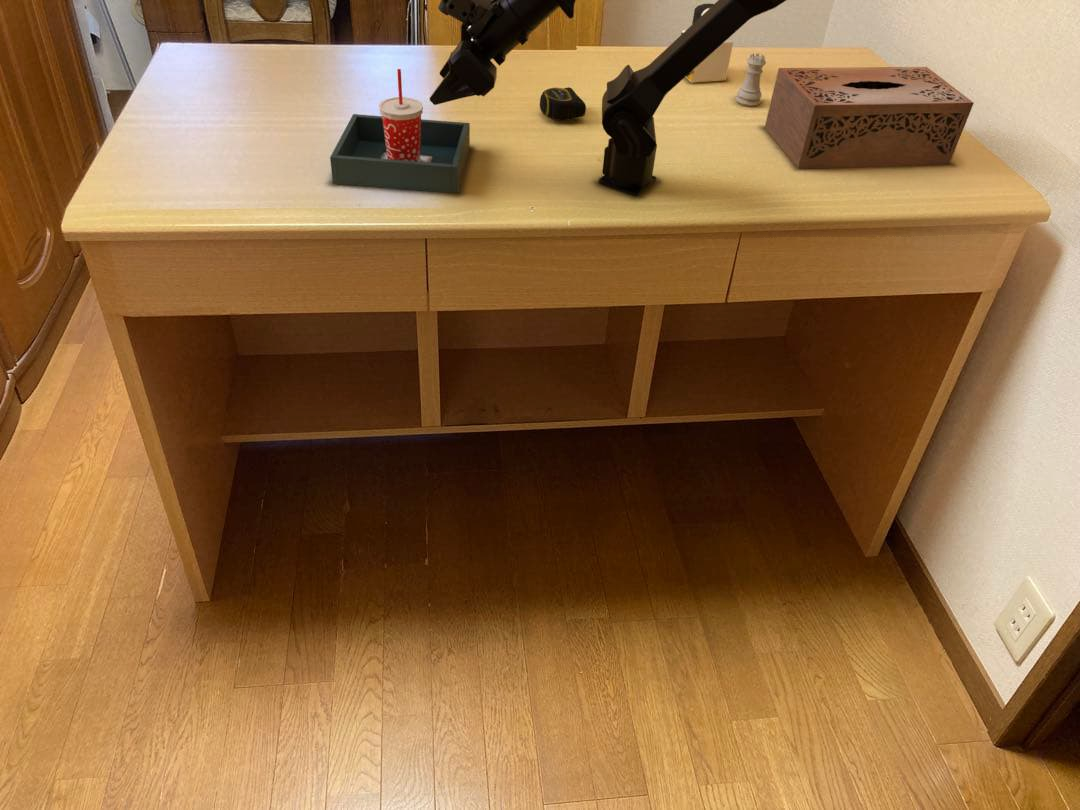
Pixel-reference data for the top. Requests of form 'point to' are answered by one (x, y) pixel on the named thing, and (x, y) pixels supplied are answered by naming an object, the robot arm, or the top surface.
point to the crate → (364, 166)
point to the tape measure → (561, 104)
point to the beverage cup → (402, 126)
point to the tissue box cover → (866, 116)
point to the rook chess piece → (751, 82)
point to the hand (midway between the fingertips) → (436, 88)
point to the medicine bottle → (711, 57)
